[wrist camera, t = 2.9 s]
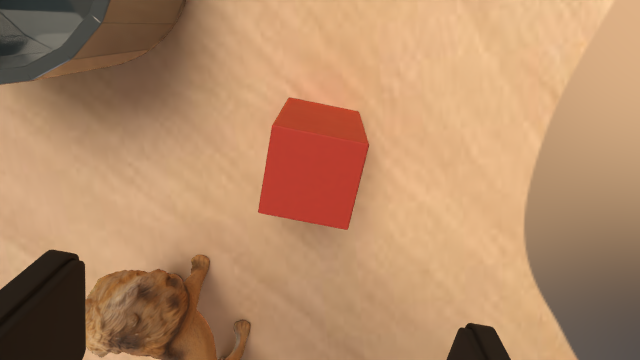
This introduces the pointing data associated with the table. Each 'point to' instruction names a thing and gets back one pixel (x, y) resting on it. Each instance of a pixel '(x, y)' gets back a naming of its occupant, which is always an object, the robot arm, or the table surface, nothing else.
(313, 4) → the table surface
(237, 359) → the lion figurine
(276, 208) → the red block
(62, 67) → the dark gray mug
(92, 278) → the table surface
